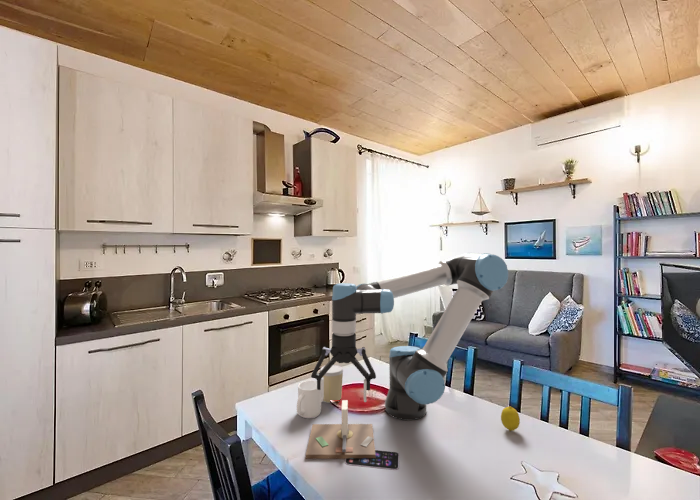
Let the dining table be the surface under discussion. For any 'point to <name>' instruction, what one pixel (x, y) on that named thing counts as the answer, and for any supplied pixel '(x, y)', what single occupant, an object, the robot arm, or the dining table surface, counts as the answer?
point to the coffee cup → (333, 383)
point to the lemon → (510, 418)
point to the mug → (308, 399)
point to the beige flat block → (344, 423)
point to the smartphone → (377, 460)
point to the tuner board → (340, 442)
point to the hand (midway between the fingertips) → (343, 399)
